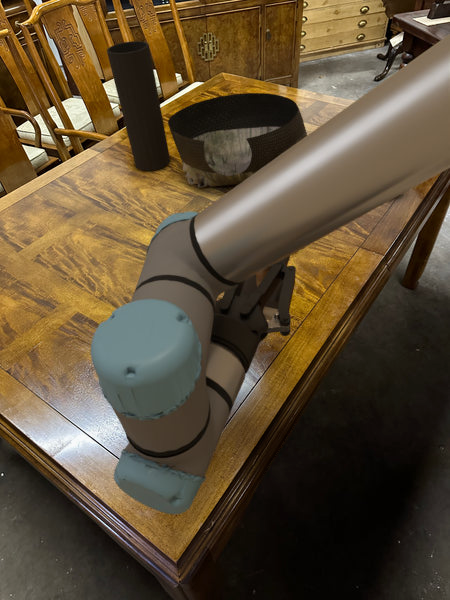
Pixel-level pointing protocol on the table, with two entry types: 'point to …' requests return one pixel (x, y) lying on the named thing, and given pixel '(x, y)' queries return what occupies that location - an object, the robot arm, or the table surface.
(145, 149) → the vase
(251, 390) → the table surface
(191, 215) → the robot arm
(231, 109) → the basket
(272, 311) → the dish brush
